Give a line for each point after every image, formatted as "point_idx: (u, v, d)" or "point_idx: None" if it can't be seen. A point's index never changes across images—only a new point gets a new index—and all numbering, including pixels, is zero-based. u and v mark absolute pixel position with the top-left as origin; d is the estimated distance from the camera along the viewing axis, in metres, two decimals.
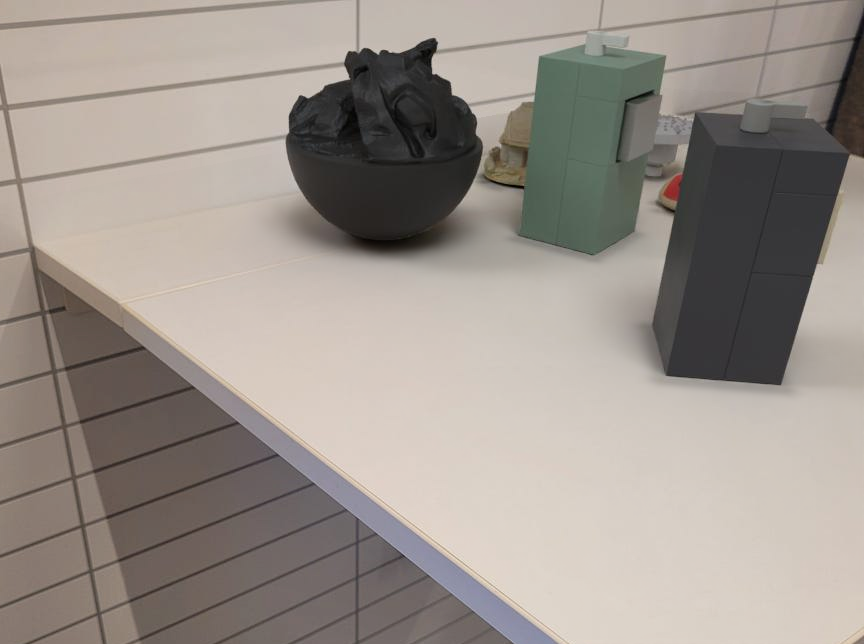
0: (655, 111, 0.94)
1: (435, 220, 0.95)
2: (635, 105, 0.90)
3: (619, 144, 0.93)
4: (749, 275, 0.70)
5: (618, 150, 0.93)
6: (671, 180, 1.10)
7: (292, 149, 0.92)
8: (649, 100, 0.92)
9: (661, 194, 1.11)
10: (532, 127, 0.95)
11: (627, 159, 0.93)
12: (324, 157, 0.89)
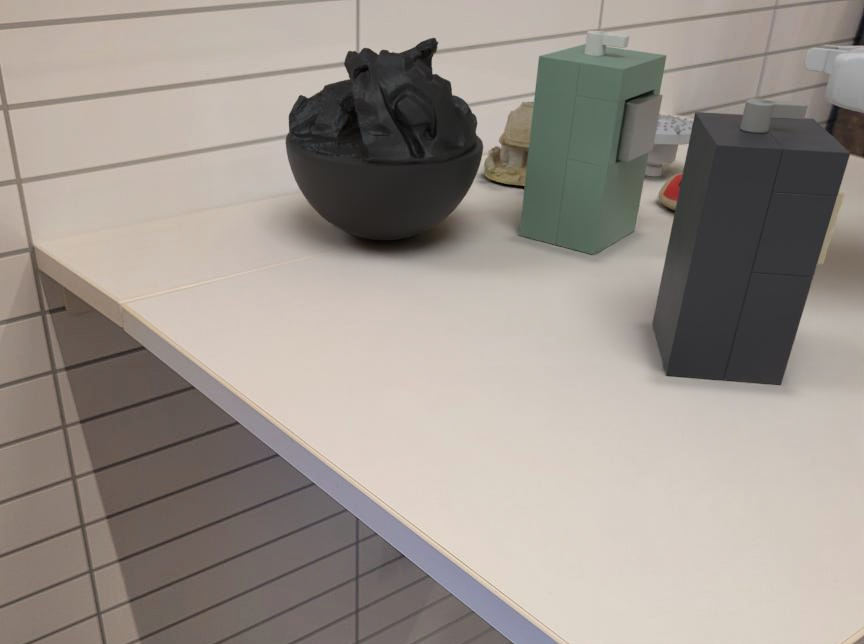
0: (655, 111, 0.94)
1: (435, 220, 0.95)
2: (635, 105, 0.90)
3: (619, 144, 0.93)
4: (749, 275, 0.70)
5: (618, 150, 0.93)
6: (671, 180, 1.10)
7: (292, 149, 0.92)
8: (649, 100, 0.92)
9: (661, 194, 1.11)
10: (532, 127, 0.95)
11: (627, 159, 0.93)
12: (324, 157, 0.89)
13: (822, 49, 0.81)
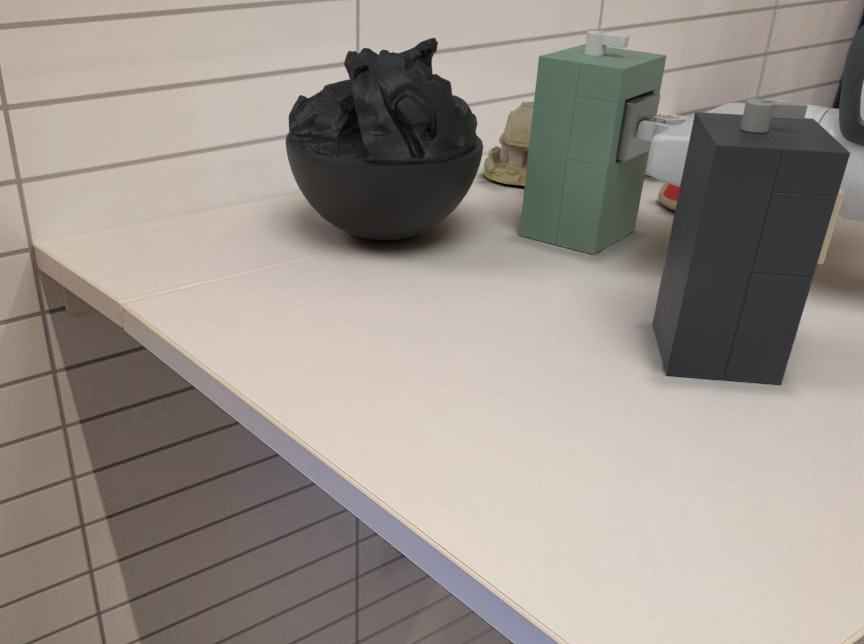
0: (653, 111, 0.94)
1: (435, 220, 0.95)
2: (633, 105, 0.90)
3: None
4: (749, 275, 0.70)
5: None
6: None
7: (292, 149, 0.92)
8: (647, 100, 0.92)
9: (661, 194, 1.11)
10: (532, 127, 0.95)
11: (625, 159, 0.93)
12: (324, 157, 0.89)
13: (650, 122, 0.92)
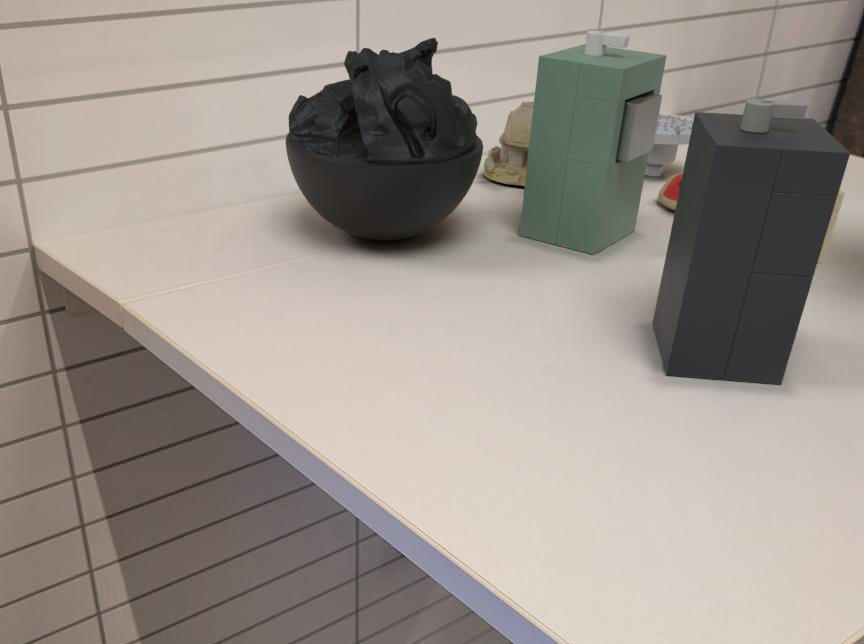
0: (655, 111, 0.94)
1: (435, 220, 0.95)
2: (635, 105, 0.90)
3: (619, 144, 0.93)
4: (749, 275, 0.70)
5: (618, 150, 0.93)
6: (671, 180, 1.10)
7: (292, 149, 0.92)
8: (649, 100, 0.92)
9: (661, 194, 1.11)
10: (532, 127, 0.95)
11: (627, 159, 0.93)
12: (324, 157, 0.89)
13: None
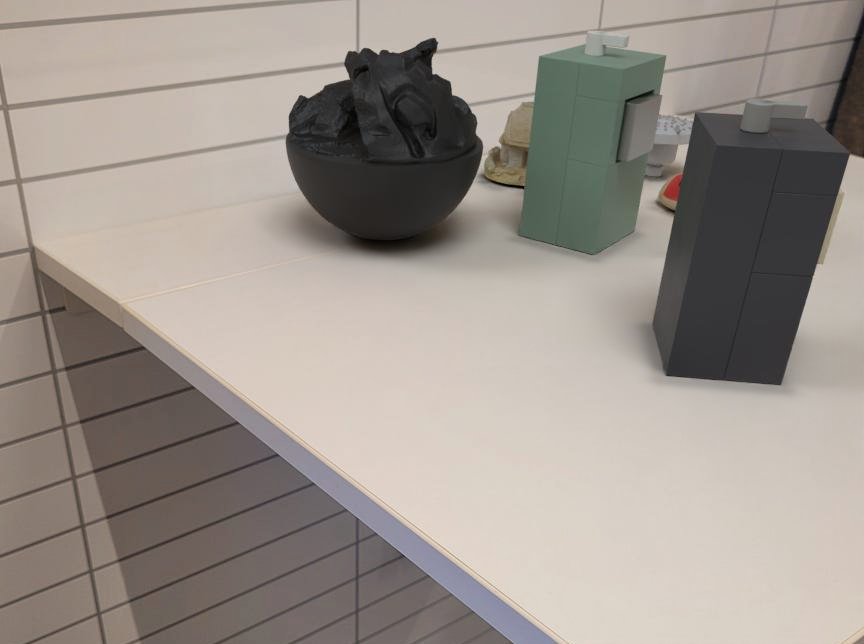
0: (655, 111, 0.94)
1: (435, 220, 0.95)
2: (635, 105, 0.90)
3: (619, 144, 0.93)
4: (749, 275, 0.70)
5: (618, 150, 0.93)
6: (671, 180, 1.10)
7: (292, 149, 0.92)
8: (649, 100, 0.92)
9: (661, 194, 1.11)
10: (532, 127, 0.95)
11: (627, 159, 0.93)
12: (324, 157, 0.89)
13: None
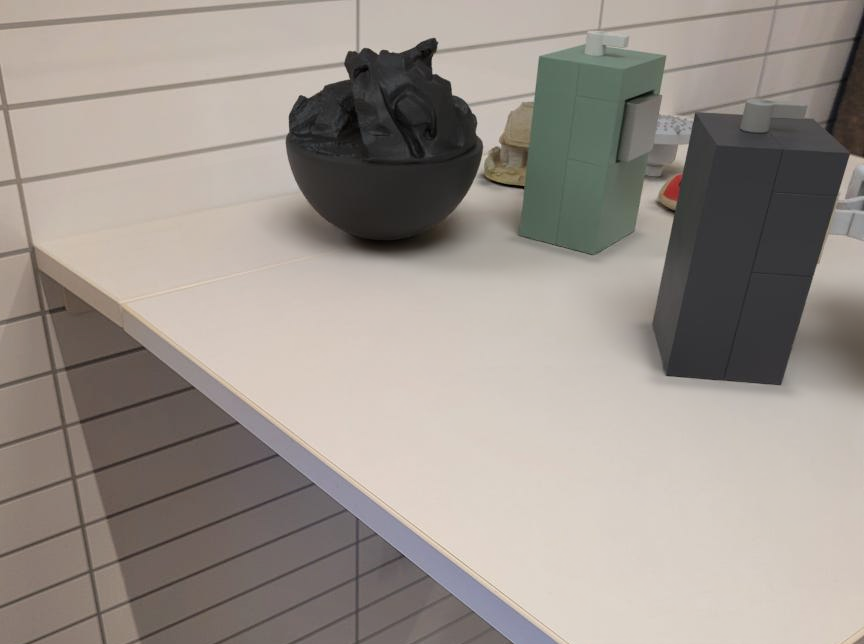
0: (655, 111, 0.94)
1: (435, 220, 0.95)
2: (635, 105, 0.90)
3: (619, 144, 0.93)
4: (749, 275, 0.70)
5: (618, 150, 0.93)
6: (671, 180, 1.10)
7: (292, 149, 0.92)
8: (649, 100, 0.92)
9: (661, 194, 1.11)
10: (532, 127, 0.95)
11: (627, 159, 0.93)
12: (324, 157, 0.89)
13: None
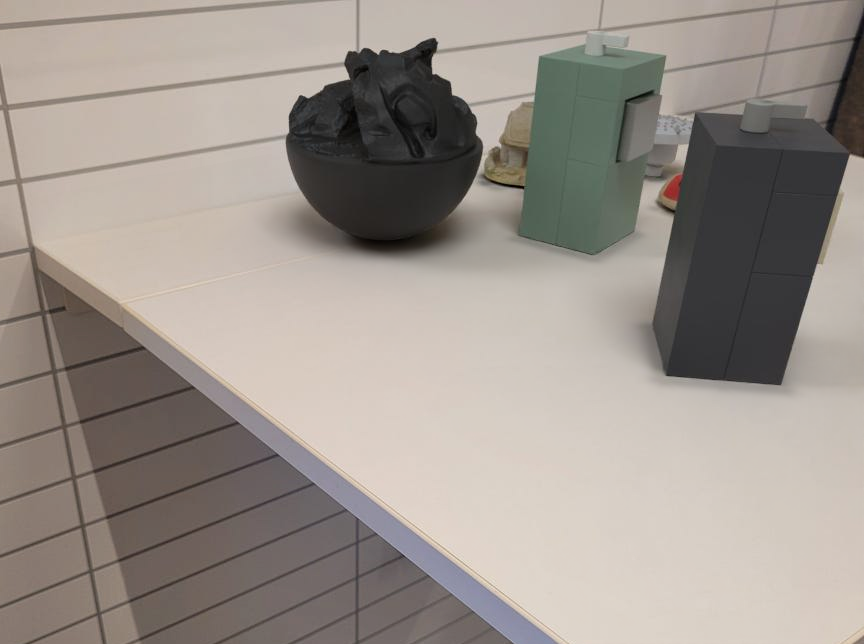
0: (655, 111, 0.94)
1: (435, 220, 0.95)
2: (635, 105, 0.90)
3: (619, 144, 0.93)
4: (749, 275, 0.70)
5: (618, 150, 0.93)
6: (671, 180, 1.10)
7: (292, 149, 0.92)
8: (649, 100, 0.92)
9: (661, 194, 1.11)
10: (532, 127, 0.95)
11: (627, 159, 0.93)
12: (324, 157, 0.89)
13: None
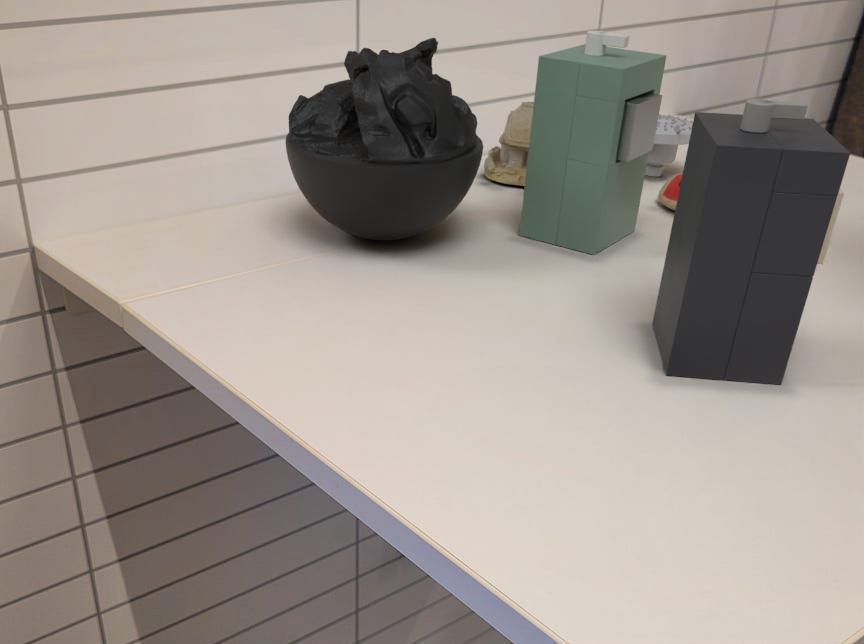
0: (655, 111, 0.94)
1: (435, 220, 0.95)
2: (635, 105, 0.90)
3: (619, 144, 0.93)
4: (749, 275, 0.70)
5: (618, 150, 0.93)
6: (671, 180, 1.10)
7: (292, 149, 0.92)
8: (649, 100, 0.92)
9: (661, 194, 1.11)
10: (532, 127, 0.95)
11: (627, 159, 0.93)
12: (324, 157, 0.89)
13: None
